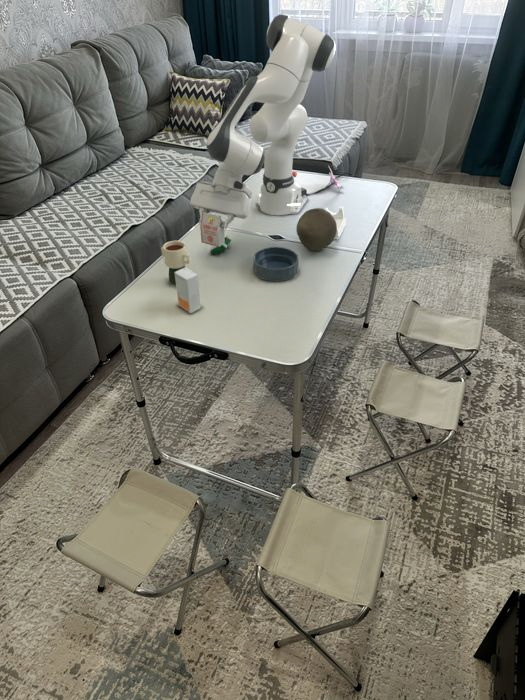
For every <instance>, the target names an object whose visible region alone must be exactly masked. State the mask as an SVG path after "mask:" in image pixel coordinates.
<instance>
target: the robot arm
mask: <svg viewBox="0 0 525 700" xmlns="http://www.w3.org/2000/svg"><path fill="white" fill-rule="evenodd" d="M265 42H266V45H267V47H268V49H269V50H270V51H271V53H270V56H269V58H268V59H267V62H266V64H265V66H264V69H263V70H262V71H261V72H260V73H259V74H258V75H257V76H256V75H255V76H254V75H253V76H250V77H249V78H248V79H247V80H246V81H245V82H244V83H243V85H242V86H241V88H240V89H239V90H238V92H237V93H236V95H235V96H234V98H233V100H232V101H231V103H230V105H229V106H228V107H227V109H226V111H225V112H224V114H223V115H222V117H221V118H220V120H219V121H218V123H217V124H216V125H215V126H214V128H213V129H212V131H211V132H210V133H209V135H208V137H207V140H206V142H205V145H206V149H207V152H208V154H209V156H210V158H212V159H214V160H216V161H218V162H219V166H218V168H217V169H216V171H215V174H214V177H213V180H212V181H206V180H201V181H199V182H197V183H196V185H195V188H194V191H193V193H192V195H191V197H190V200H189V203H190V205H191V206H192V208H194V209H197V210H199V211H198V212H199V217H200V218H199V223H200V224H201V218H202V212H206V213H207V212H209V213H210V212H211V213H215V214H219V215H224V216H227V219H226V220H225V221H224V220H222V224H221V227H222V228H224V230H227V229H228V227H229V225H230V224H231V223H232V222H233V221H234V219H235V218H237V219H243V220H245V219H247V218H248V217H249V215H250V210H251V205H252V200H251V198H252V197H253V192H252V191H251V189H250V188H249V187H248V185H246V184H245V183H244V182H243V177H244V176H253V175H256V174H258V173H260V172H261V170H262V168H263V174H262V185H261V186H260V193H259V195H258V196H259V200H258V201H257V204H256V205H257V206H258V207H259V209H260V211H261V212H262V213H264V214H267V215H271V216H285V215H296V214H298V213H299V212H300V211H301V209H302V208H303V206H304V205H305V204H306V202H308V201H307V200H308V198H307V197H308V196H311V195H316V194H319V193H321V192H323V191H325V190H327V189H328V188H331V187H332V185H334V184H331V183H330V184H329V185H328V184H327V185H328V186H327V185H326V186H327V187H326V186H325V187H326V188H325V187H323V188H321V189H319V190H317V191H315V192H313V193H307V192H308V190H307V188H304V187H302V186H300V185H299V184H298V183H296V182H295V178H297V176H298V172H297V171H293V166H294V165H293V164H294V163H293V162H294V154H295V149H296V147H297V146H296V145H297V143H298V140H299V138H300V137H301V134H302V132H303V131H304V129H305V128H306V126H307V124H308V120H309V118H308V117H309V116H308V113H307V110H306V108H305V107H304V106H303V105H302V104H301V103H302V101H303V100H304V98H305V96H306V93H307V90H308V87H309V84H310V82H311V79H312V75H313V73H314V72H317V73H322V72H323V71H326V70H327V68H328V67H330V65H331V64H332V62H333V60H334V57H335V52H336V42H335V39H334V38H333V37H332V36H331V35H329V34H328V33H326V34H325V33H324V32H323V31H322V30H320V29H318V28H316V27H315V26H314V25H311V24H310V23H305V22H303V21H302V20H301V21H300V20H298V19H295V18H293V17H290V16H289V15H286V14H278V15H276V16H274V17H273V19H272V20H271V22H270V23H269V25H268V27H267V31H266V38H265ZM253 103H262V104H263V105H262V106H261V108H260V109H259V110H258V111H256V113H255V114H254V115H253V116H252V117H251V118H250V121H249V132H250V135H251V137H252V138H253V140H255V141H256V142H257V143H256V142H255V141H253V140H251V139H250V138H249V137H248V136H247V135H244V134H241V133H239V132H238V131H236V129H235V128H236V126H237V125H238V123H239V121H240V120H241V118H242V117H243V115H244V113H245V112H246V110H247V109H248V107H249V106H250V105H251V104H253ZM258 143H270V145H269V147H268V148H267V149H266V150H264V148H263V147H262V146H261V145H259V144H258ZM345 175H349V176H353V174H352V173H351V172H343V173H341V174H339V175H337V176H334V178H335V179H336V180H338V179H339V178H341V177H342V176H345ZM337 178H338V179H337ZM324 189H325V190H324ZM306 196H307V197H306Z"/></svg>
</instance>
